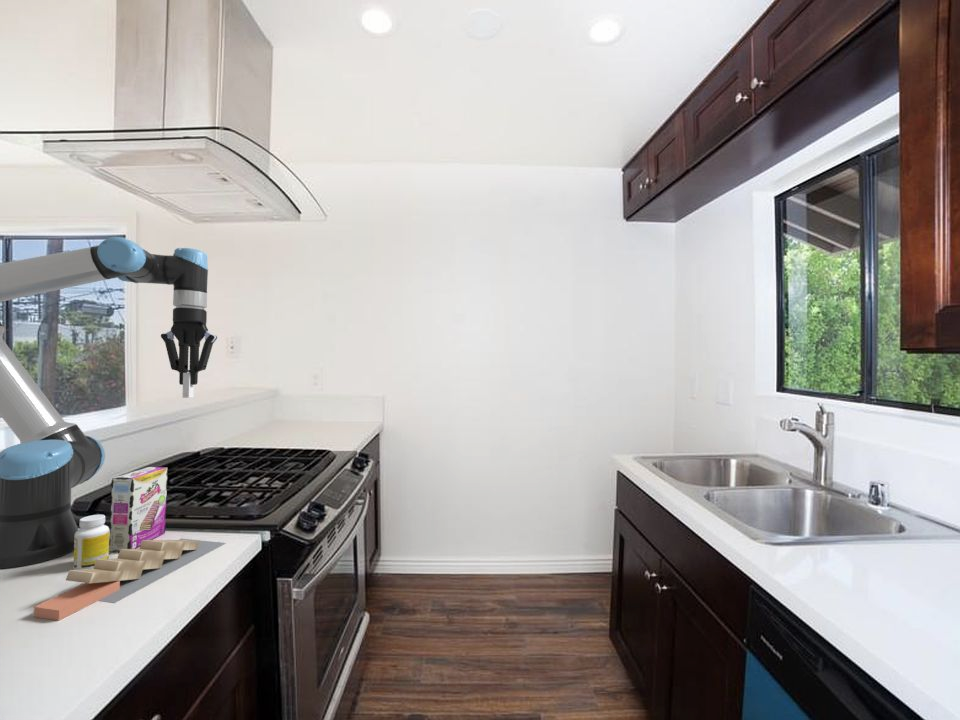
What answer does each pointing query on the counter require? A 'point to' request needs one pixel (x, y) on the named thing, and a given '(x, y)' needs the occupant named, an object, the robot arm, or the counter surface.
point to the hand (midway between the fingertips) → (188, 397)
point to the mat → (160, 571)
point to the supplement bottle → (91, 542)
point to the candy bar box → (137, 507)
